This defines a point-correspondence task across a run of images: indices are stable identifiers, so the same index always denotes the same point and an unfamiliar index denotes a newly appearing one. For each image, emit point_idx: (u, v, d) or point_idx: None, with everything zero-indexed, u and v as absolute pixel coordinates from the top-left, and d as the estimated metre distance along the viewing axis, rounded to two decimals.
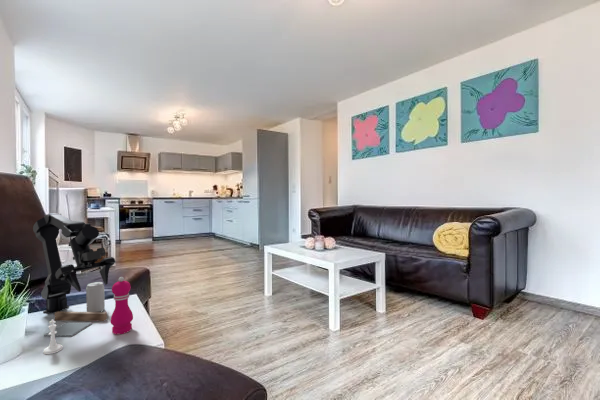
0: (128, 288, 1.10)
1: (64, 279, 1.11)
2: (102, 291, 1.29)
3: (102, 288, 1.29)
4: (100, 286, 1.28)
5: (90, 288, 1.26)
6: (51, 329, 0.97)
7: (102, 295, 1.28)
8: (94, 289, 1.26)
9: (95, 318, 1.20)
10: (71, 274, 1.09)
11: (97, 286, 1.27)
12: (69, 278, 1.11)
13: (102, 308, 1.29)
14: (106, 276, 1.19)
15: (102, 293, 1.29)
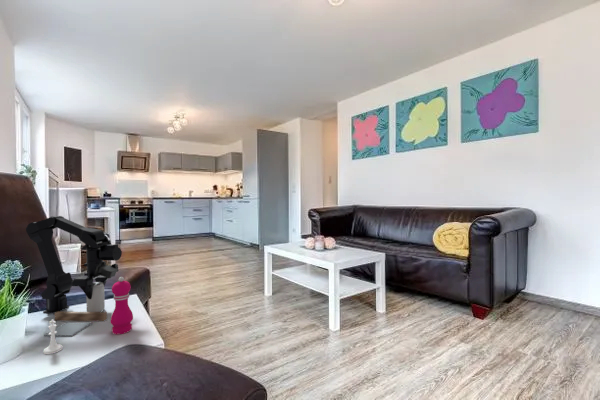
0: (128, 288, 1.10)
1: (79, 285, 1.23)
2: (102, 291, 1.29)
3: (102, 288, 1.29)
4: (100, 286, 1.28)
5: None
6: (51, 329, 0.97)
7: (102, 295, 1.28)
8: (94, 289, 1.26)
9: (95, 318, 1.20)
10: (91, 285, 1.23)
11: (97, 286, 1.27)
12: (84, 285, 1.24)
13: (102, 308, 1.29)
14: None
15: (102, 293, 1.29)
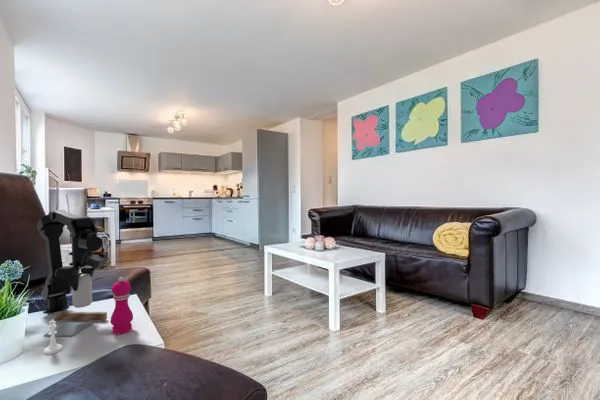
0: (128, 288, 1.10)
1: (64, 276, 1.13)
2: (89, 283, 1.19)
3: (89, 280, 1.19)
4: (87, 277, 1.18)
5: None
6: (51, 329, 0.97)
7: (89, 287, 1.19)
8: (80, 281, 1.16)
9: (95, 318, 1.20)
10: (77, 276, 1.14)
11: (84, 277, 1.17)
12: (69, 276, 1.14)
13: (90, 301, 1.19)
14: None
15: (89, 285, 1.19)
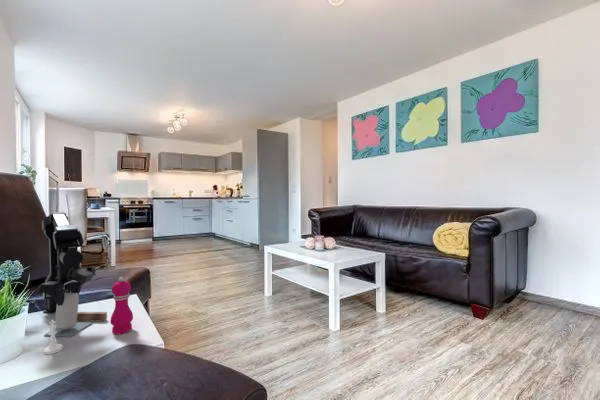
0: (128, 288, 1.10)
1: None
2: (76, 302, 1.11)
3: (76, 299, 1.12)
4: (74, 296, 1.11)
5: None
6: (51, 329, 0.97)
7: (75, 307, 1.11)
8: (67, 299, 1.09)
9: (95, 318, 1.20)
10: (62, 292, 1.06)
11: (71, 295, 1.10)
12: None
13: (74, 323, 1.10)
14: (78, 293, 1.15)
15: (76, 305, 1.11)
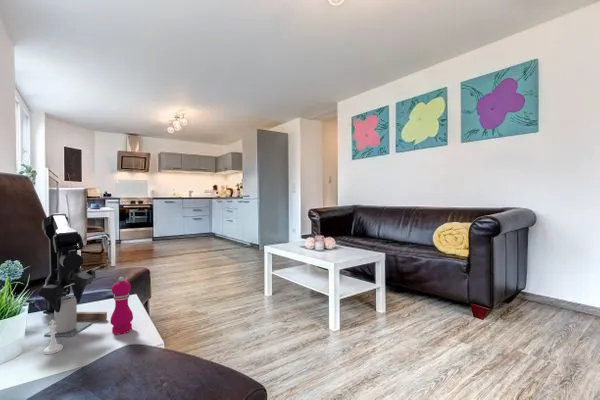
0: (128, 288, 1.10)
1: None
2: (74, 306, 1.10)
3: (74, 303, 1.10)
4: (72, 300, 1.09)
5: None
6: (51, 329, 0.97)
7: (73, 311, 1.10)
8: (64, 304, 1.07)
9: (95, 318, 1.20)
10: (59, 297, 1.05)
11: (68, 300, 1.08)
12: None
13: (73, 326, 1.10)
14: (81, 295, 1.17)
15: (74, 309, 1.10)
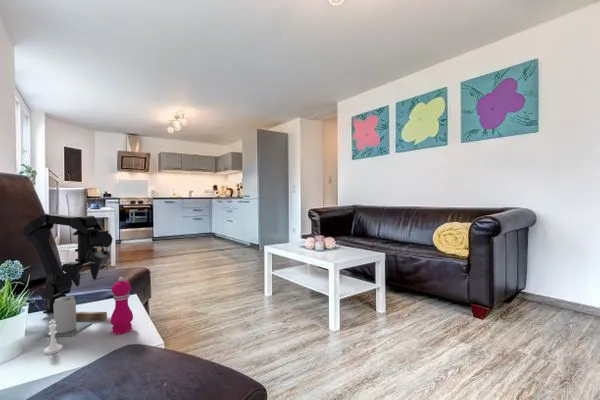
0: (128, 288, 1.10)
1: None
2: (73, 307, 1.10)
3: (73, 303, 1.10)
4: (71, 301, 1.09)
5: (58, 304, 1.07)
6: (51, 329, 0.97)
7: (73, 312, 1.10)
8: (63, 305, 1.07)
9: (95, 318, 1.20)
10: (79, 272, 1.20)
11: (67, 301, 1.08)
12: None
13: (73, 327, 1.10)
14: (97, 272, 1.32)
15: (73, 309, 1.10)
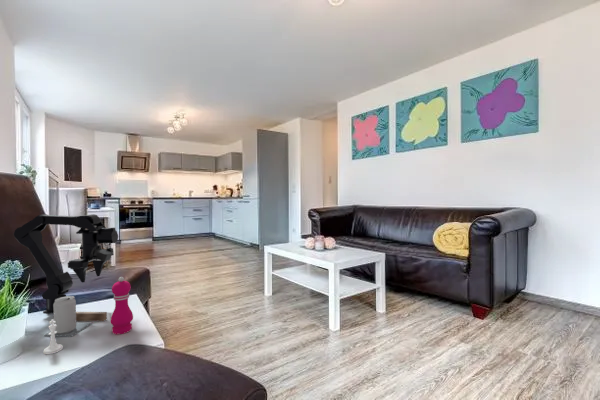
0: (128, 288, 1.10)
1: (72, 268, 1.24)
2: (73, 307, 1.10)
3: (73, 303, 1.10)
4: (71, 301, 1.09)
5: (58, 304, 1.07)
6: (51, 329, 0.97)
7: (73, 312, 1.10)
8: (63, 305, 1.07)
9: (95, 318, 1.20)
10: (84, 269, 1.25)
11: (67, 301, 1.08)
12: (77, 269, 1.25)
13: (73, 327, 1.10)
14: (101, 269, 1.36)
15: (73, 309, 1.10)
